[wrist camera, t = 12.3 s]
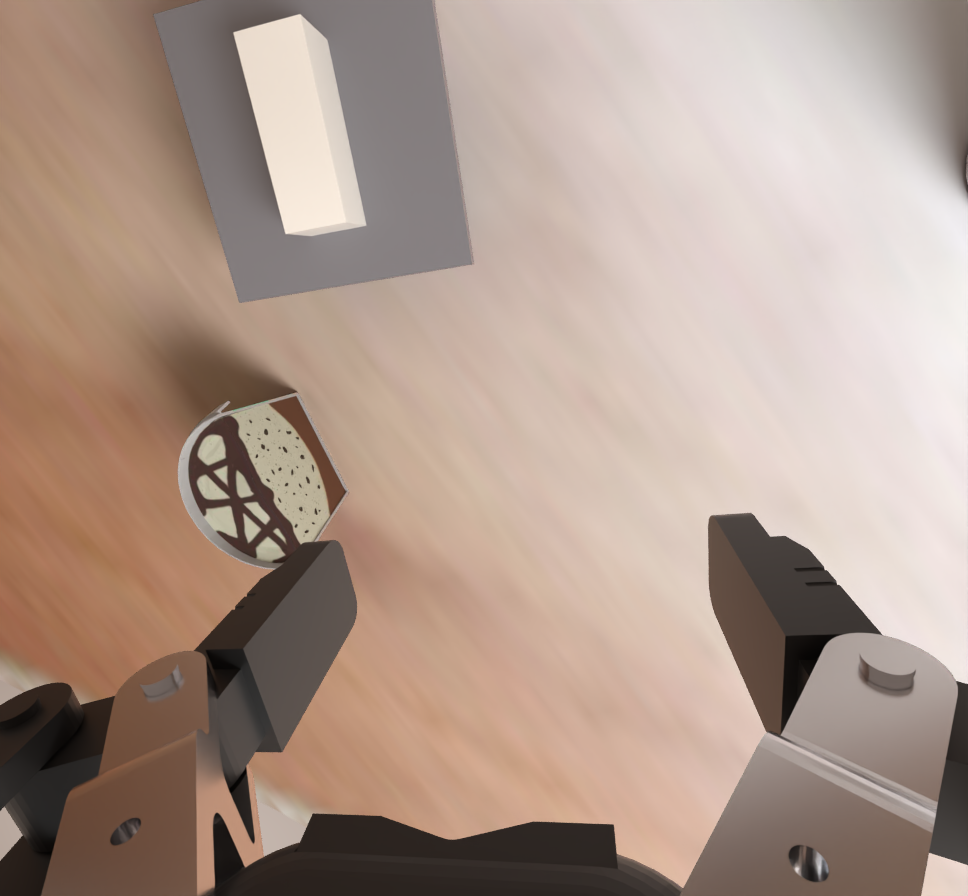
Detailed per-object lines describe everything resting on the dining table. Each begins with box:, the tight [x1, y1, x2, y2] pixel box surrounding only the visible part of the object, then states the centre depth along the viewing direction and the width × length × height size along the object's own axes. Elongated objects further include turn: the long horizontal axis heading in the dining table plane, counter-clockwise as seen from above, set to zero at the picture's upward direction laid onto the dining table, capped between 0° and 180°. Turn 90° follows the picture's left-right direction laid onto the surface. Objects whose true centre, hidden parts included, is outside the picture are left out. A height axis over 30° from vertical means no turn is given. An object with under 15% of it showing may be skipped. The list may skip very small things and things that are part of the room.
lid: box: [153, 0, 474, 303], centre depth 27 cm, size 15×15×4 cm
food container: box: [178, 392, 349, 570], centre depth 39 cm, size 12×6×10 cm, turn 22°
